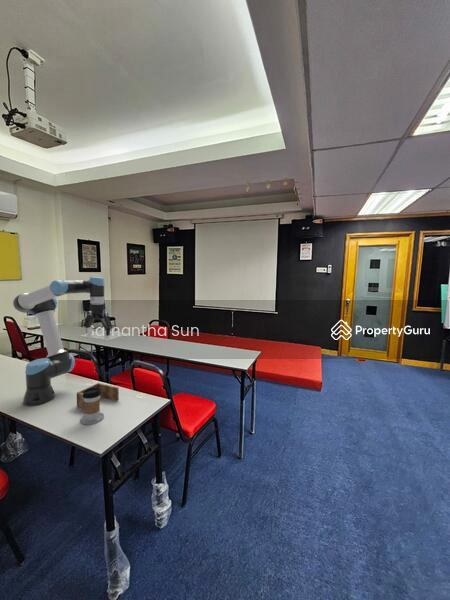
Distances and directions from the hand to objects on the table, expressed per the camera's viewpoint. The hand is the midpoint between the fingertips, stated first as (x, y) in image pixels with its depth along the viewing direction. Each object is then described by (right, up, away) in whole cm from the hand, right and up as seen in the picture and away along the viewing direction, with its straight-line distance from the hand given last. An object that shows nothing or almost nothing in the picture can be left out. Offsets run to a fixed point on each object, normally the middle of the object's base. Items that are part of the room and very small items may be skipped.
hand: (98, 339), depth 151 cm
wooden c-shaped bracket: (+1, -37, -1) cm, 37 cm away
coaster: (+6, -39, -17) cm, 43 cm away
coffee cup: (+6, -38, -17) cm, 42 cm away
